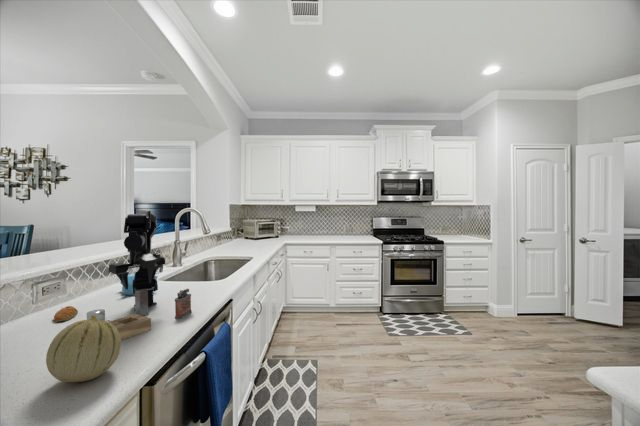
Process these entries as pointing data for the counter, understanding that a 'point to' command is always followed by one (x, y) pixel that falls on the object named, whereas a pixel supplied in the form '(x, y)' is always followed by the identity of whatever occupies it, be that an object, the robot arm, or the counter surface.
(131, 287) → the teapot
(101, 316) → the cylinder
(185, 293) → the lighter
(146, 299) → the square bit
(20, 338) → the counter surface
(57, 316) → the pastry
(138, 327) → the socket block
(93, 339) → the cantaloupe
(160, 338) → the counter surface
